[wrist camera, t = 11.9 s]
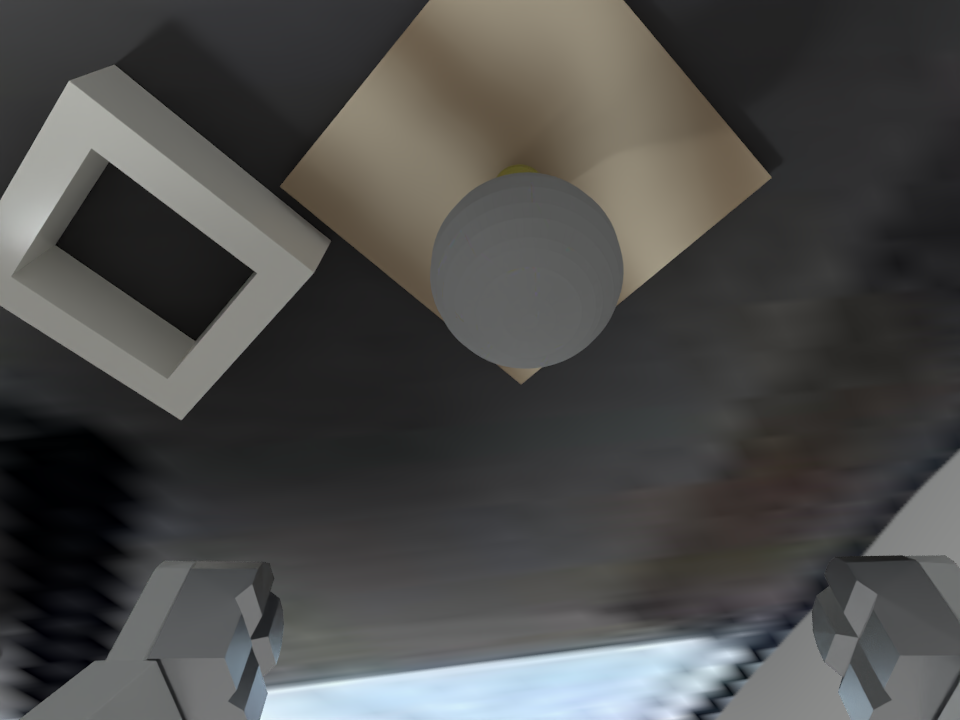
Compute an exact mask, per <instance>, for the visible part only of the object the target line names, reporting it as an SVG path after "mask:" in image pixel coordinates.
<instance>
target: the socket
mask: <svg viewBox="0 0 960 720" xmlns="http://www.w3.org/2000/svg"><path fill="white" fill-rule="evenodd" d="M109 162H110V163H112V164H113V165H114V166H116V167H117V168H118V169H120V170H121V171H122V172H124V173H125V174H126V175H128V176H129V177H130V178H132V179H133V180H134V181H135V182H137V183H138V184H139V185H141V186H142V187H143V188H145V189H146V190H147V191H149V192H150V193H151V194H153V195H154V196H155V197H157V198H158V199H159V200H161V201H162V202H163V203H165V204H166V205H167V206H169V207H170V208H171V209H173V210H174V211H175V212H177V213H178V214H179V215H181V216H182V217H183V218H185V219H186V220H187V221H188V222H190V223H191V224H192V225H194V226H195V227H196V228H198V229H199V230H200V231H202V232H203V233H204V234H206V235H207V236H208V237H210V238H211V239H212V240H214V241H215V242H216V243H218V244H219V245H220V246H222V247H223V248H224V249H226V250H227V251H228V252H230V253H231V254H232V255H234V256H235V257H236V258H237V259H239V260H240V261H241V262H243V263H244V264H245V265H247V266H248V267H249V268H251V269H252V270H253V271H254V273H253V274H252V275H251V276H250V277H249V278H248V280H247V281H246V282H245V283H244V284H243V286H242V287H241V288H240V289H239V290H238V292H237V293H236V294H235V295H234V296H233V297H232V299H231V300H230V301H229V302H228V303H227V305H226V306H225V307H224V308H223V309H222V310H221V312H220V313H219V314H218V315H217V316H216V318H215V319H214V320H213V321H212V322H211V323H210V325H209V326H208V327H207V328H206V329H205V331H204V332H203V333H202V334H201V335H200V337H199V338H198V339H197V340H196V341H194V340H193V339H191V338H190V337H188V336H187V335H186V334H184V333H183V332H181V331H180V330H178V329H177V328H175V327H174V326H172V325H171V324H169V323H168V322H167V321H165V320H164V319H162V318H161V317H159V316H158V315H156V314H155V313H153V312H152V311H151V310H149V309H148V308H146V307H145V306H143V305H142V304H140V303H139V302H137V301H136V300H135V299H133V298H132V297H130V296H129V295H127V294H126V293H124V292H123V291H121V290H120V289H119V288H117V287H116V286H114V285H113V284H111V283H110V282H108V281H107V280H105V279H104V278H102V277H101V276H100V275H98V274H97V273H95V272H94V271H92V270H91V269H89V268H88V267H86V266H85V265H84V264H82V263H81V262H79V261H78V260H76V259H75V258H73V257H72V256H70V255H69V254H68V253H66V252H65V251H63V250H62V249H60V248H59V247H57V246H56V243H57V242H58V240H59V238H60V237H61V235H62V234H63V232H64V231H65V229H66V228H67V226H68V225H69V223H70V221H71V220H72V218H73V217H74V215H75V214H76V212H77V211H78V209H79V208H80V206H81V205H82V203H83V201H84V200H85V198H86V197H87V195H88V194H89V192H90V191H91V189H92V188H93V186H94V184H95V183H96V181H97V180H98V178H99V177H100V175H101V174H102V172H103V171H104V169H105V167H106V166H107V164H108V163H109ZM330 242H331V240H330V239H328V238H327V237H326V236H325V235H323V234H322V233H321V232H320V231H318V230H317V229H316V228H315V227H314V226H312V225H311V224H310V223H309V222H307V221H306V220H305V219H304V218H302V217H301V216H300V215H299V214H298V213H296V212H295V211H294V210H293V209H291V208H290V207H289V206H288V205H286V204H285V203H284V202H283V201H282V200H280V199H279V198H278V197H277V196H275V195H274V194H273V193H272V192H270V191H269V190H268V189H267V188H266V187H264V186H263V185H262V184H261V183H259V182H258V181H257V180H256V179H254V178H253V177H252V176H251V175H250V174H248V173H247V172H246V171H245V170H243V169H242V168H241V167H240V166H238V165H237V164H236V163H235V162H234V161H232V160H231V159H230V158H229V157H227V156H226V155H225V154H224V153H222V152H221V151H220V150H219V149H218V148H216V147H215V146H214V145H213V144H211V143H210V142H209V141H208V140H206V139H205V138H204V137H203V136H202V135H200V134H199V133H198V132H197V131H195V130H194V129H193V128H192V127H190V126H189V125H188V124H187V123H186V122H184V121H183V120H182V119H181V118H179V117H178V116H177V115H176V114H174V113H173V112H172V111H171V110H170V109H168V108H167V107H166V106H165V105H163V104H162V103H161V102H160V101H158V100H157V99H156V98H155V97H154V96H152V95H151V94H150V93H149V92H147V91H146V90H145V89H144V88H142V87H141V86H140V85H139V84H138V83H136V82H135V81H134V80H133V79H131V78H130V77H129V76H128V75H126V74H125V73H124V72H123V71H122V70H120V69H119V68H118V67H117V66H115V65H112V66H109V67H106V68H103V69H101V70H98V71H95V72H92V73H89V74H87V75H84V76H81V77H78V78H75V79H72V80H70V81H69V82H68V83H67V85H66V87H65V89H64V90H63V92H62V94H61V96H60V97H59V99H58V101H57V103H56V104H55V106H54V108H53V109H52V111H51V113H50V115H49V116H48V118H47V120H46V122H45V123H44V125H43V127H42V129H41V130H40V132H39V134H38V136H37V137H36V139H35V141H34V142H33V144H32V146H31V148H30V149H29V151H28V153H27V155H26V156H25V158H24V160H23V162H22V163H21V165H20V167H19V169H18V170H17V172H16V174H15V175H14V177H13V179H12V181H11V182H10V184H9V186H8V188H7V189H6V191H5V193H4V195H3V196H2V198H1V200H0V306H2V307H3V308H5V309H6V310H8V311H10V312H11V313H13V314H14V315H16V316H17V317H19V318H21V319H22V320H24V321H25V322H27V323H28V324H30V325H32V326H33V327H35V328H36V329H38V330H39V331H41V332H43V333H44V334H46V335H47V336H49V337H51V338H52V339H54V340H55V341H57V342H58V343H60V344H62V345H63V346H65V347H66V348H68V349H69V350H71V351H73V352H74V353H76V354H77V355H79V356H80V357H82V358H84V359H85V360H87V361H88V362H90V363H92V364H93V365H95V366H96V367H98V368H99V369H101V370H103V371H104V372H106V373H107V374H109V375H110V376H112V377H114V378H115V379H117V380H118V381H120V382H122V383H123V384H125V385H126V386H128V387H129V388H131V389H133V390H134V391H136V392H137V393H139V394H140V395H142V396H144V397H145V398H147V399H148V400H150V401H151V402H153V403H155V404H156V405H158V406H159V407H161V408H163V409H164V410H166V411H167V412H169V413H170V414H172V415H174V416H175V417H177V418H178V419H180V420H182V419H183V418H184V417H185V416H186V415H187V413H188V412H189V411H190V410H191V409H192V408H193V407H194V406H195V405H196V403H197V402H198V401H199V400H200V399H201V398H202V397H203V396H204V395H205V393H206V392H207V391H208V390H209V389H210V388H211V387H212V386H213V385H214V383H215V382H216V381H217V380H218V379H219V378H220V377H221V376H222V375H223V373H224V372H225V371H226V370H227V369H228V368H229V367H230V366H231V365H232V363H233V362H234V361H235V360H236V359H237V358H238V357H239V356H240V355H241V353H242V352H243V351H244V350H245V349H246V348H247V347H248V346H249V345H250V343H251V342H252V341H253V340H254V339H255V338H256V337H257V336H258V335H259V333H260V332H261V331H262V330H263V329H264V328H265V327H266V326H267V325H268V323H269V322H270V321H271V320H272V319H273V318H274V317H275V316H276V315H277V313H278V312H279V311H280V310H281V309H282V308H283V307H284V306H285V305H286V303H287V302H288V301H289V300H290V299H291V298H292V297H293V296H294V295H295V293H296V292H297V291H298V290H299V289H300V288H301V287H302V286H303V285H304V283H305V282H306V281H307V280H308V279H309V278H310V277H311V276H312V275H313V273H314V272H315V270H316V268H317V266H318V265H319V263H320V261H321V259H322V257H323V255H324V254H325V252H326V250H327V248H328V246H329V244H330Z"/></svg>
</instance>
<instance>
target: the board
mask: <svg viewBox="0 0 960 720" xmlns="http://www.w3.org/2000/svg"><path fill="white" fill-rule="evenodd" d="M517 164H521V165H527V166H530V167H532V168H534V169H535V170H537V171H538V172H539V173H541V174H547V175H551V176H555V177H557V178H560V179H563V180H565V181H567V182H569V183H571V184H573V185H574V186H576V187H577V188H579V189H580V190H582V191H583V192H584V193H586V194H587V195H588V196H589V197H591V198H592V199H593V200H594V201H595V202H596V203H597V204H598V205H599V206H600V207H601V208H602V210H603V211H604V212H605V213H606V215H607V216H608V218H609V219H610V221H611V223H612V225H613V227H614V230H615V232H616V235H617V239H618V242H619V246H620V249H621V253H622V258H623V267H624V275H623V284H622V289H621V293H620V296H619V299H618V302H617V305H618V304H619V303H620V302H622V301H623V300H624V299H625V298H627V297H628V296H629V295H630V294H631V293H633V292H634V291H635V290H636V289H637V288H639V287H640V286H641V285H642V284H644V283H645V282H646V281H647V280H648V279H650V278H651V277H652V276H653V275H654V274H656V273H657V272H658V271H659V270H660V269H662V268H663V267H664V266H665V265H667V264H668V263H669V262H670V261H671V260H673V259H674V258H675V257H676V256H677V255H679V254H680V253H681V252H682V251H684V250H685V249H686V248H687V247H688V246H690V245H691V244H692V243H693V242H694V241H696V240H697V239H698V238H699V237H700V236H702V235H703V234H704V233H705V232H707V231H708V230H709V229H710V228H711V227H713V226H714V225H715V224H716V223H717V222H719V221H720V220H721V219H722V218H723V217H725V216H726V215H727V214H728V213H730V212H731V211H732V210H733V209H734V208H736V207H737V206H738V205H739V204H740V203H742V202H743V201H744V200H745V199H747V198H748V197H749V196H750V195H751V194H753V193H754V192H755V191H756V190H757V189H759V188H760V187H761V186H762V185H763V184H765V183H766V182H767V181H768V180H770V179H771V178H772V177H771V176H770V175H769V174H768V172H767V171H766V170H765V169H764V168H763V166H762V165H761V164H760V163H759V162H758V160H757V159H756V158H755V157H754V156H753V154H752V153H751V152H750V151H749V150H748V148H747V147H746V146H745V145H744V144H743V143H742V141H741V140H740V139H739V138H738V137H737V135H736V134H735V133H734V132H733V131H732V129H731V128H730V127H729V126H728V125H727V123H726V122H725V121H724V120H723V119H722V117H721V116H720V115H719V114H718V113H717V111H716V110H715V109H714V108H713V107H712V105H711V104H710V103H709V102H708V101H707V99H706V98H705V97H704V96H703V95H702V93H701V92H700V91H699V90H698V89H697V87H696V86H695V85H694V84H693V83H692V82H691V80H690V79H689V78H688V77H687V76H686V74H685V73H684V72H683V71H682V70H681V68H680V67H679V66H678V65H677V64H676V62H675V61H674V60H673V59H672V58H671V56H670V55H669V54H668V53H667V52H666V50H665V49H664V48H663V47H662V46H661V44H660V43H659V42H658V41H657V40H656V38H655V37H654V36H653V35H652V34H651V32H650V31H649V30H648V29H647V28H646V27H645V25H644V24H643V23H642V22H641V21H640V19H639V18H638V17H637V16H636V15H635V13H634V12H633V11H632V10H631V9H630V7H629V6H628V5H627V4H626V3H625V1H624V0H429V2H428V3H427V4H426V5H425V7H424V8H423V9H422V10H421V12H420V13H419V14H418V15H417V17H416V18H415V19H414V20H413V22H412V23H411V24H410V25H409V27H408V28H407V29H406V30H405V31H404V33H403V34H402V35H401V36H400V38H399V39H398V40H397V41H396V43H395V44H394V45H393V46H392V48H391V49H390V50H389V51H388V53H387V54H386V55H385V56H384V58H383V59H382V60H381V61H380V63H379V64H378V65H377V66H376V68H375V69H374V70H373V71H372V72H371V74H370V75H369V76H368V77H367V79H366V80H365V81H364V82H363V84H362V85H361V86H360V87H359V89H358V90H357V91H356V92H355V94H354V95H353V96H352V97H351V99H350V100H349V101H348V102H347V104H346V105H345V106H344V107H343V108H342V110H341V111H340V112H339V113H338V115H337V116H336V117H335V118H334V120H333V121H332V122H331V123H330V125H329V126H328V127H327V128H326V130H325V131H324V132H323V133H322V135H321V136H320V137H319V138H318V140H317V141H316V142H315V143H314V145H313V146H312V147H311V148H310V149H309V151H308V152H307V153H306V154H305V156H304V157H303V158H302V159H301V161H300V162H299V163H298V164H297V166H296V167H295V168H294V169H293V171H292V172H291V173H290V174H289V176H288V177H287V178H286V179H285V181H284V182H283V183H282V184H281V186H280V187H281V188H282V189H283V190H285V191H286V192H287V193H288V194H290V195H291V196H292V197H293V198H294V199H296V200H297V201H298V202H299V203H301V204H302V205H303V206H304V207H305V208H307V209H308V210H309V211H310V212H311V213H313V214H314V215H315V216H316V217H318V218H319V219H320V220H321V221H322V222H324V223H325V224H326V225H327V226H329V227H330V228H331V229H332V230H333V231H335V232H336V233H337V234H338V235H340V236H341V237H342V238H343V239H344V240H346V241H347V242H348V243H349V244H350V245H352V246H353V247H354V248H355V249H357V250H358V251H359V252H360V253H361V254H363V255H364V256H365V257H366V258H368V259H369V260H370V261H371V262H372V263H374V264H375V265H376V266H377V267H379V268H380V269H381V270H382V271H383V272H385V273H386V274H387V275H388V276H389V277H391V278H392V279H393V280H394V281H396V282H397V283H398V284H399V285H400V286H402V287H403V288H404V289H405V290H407V291H408V292H409V293H410V294H411V295H413V296H414V297H415V298H416V299H418V300H419V301H420V302H421V303H422V304H424V305H425V306H426V307H427V308H429V309H430V310H431V311H432V312H433V313H435V314H436V315H437V316H438V317H439V318H441V319H442V320H443V318H442V317H441V315H440V313H439V311H438V309H437V307H436V304H435V302H434V298H433V295H432V290H431V283H430V268H431V259H432V251H433V246H434V242H435V239H436V236H437V233H438V231H439V229H440V227H441V225H442V223H443V222H444V220H445V218H446V217H447V216H448V214H449V213H450V212H451V210H452V209H453V208H454V207H455V206H456V205H457V204H458V203H459V202H460V201H461V200H462V198H463V197H465V196H466V195H467V194H468V193H469V192H470V191H472V190H473V189H475V188H476V187H478V186H479V185H481V184H483V183H485V182H487V181H489V180H491V179H494V178H496V177H497V176H498V174H499V173H500V172H501V171H502V170H503V169H505V168H507V167H509V166H511V165H517ZM617 305H616V306H617ZM443 321H444V320H443ZM497 365H498V364H497ZM498 366H499V367H500V368H502V369H503V370H504V371H505V372H507V373H508V374H509V375H510V376H511V377H513V378H514V379H515V380H516V381H518V382H519V383H520V384H522V383H524V382H525V381H526V380H527V379H528V378H530V377H531V376H532V375H533V374H534V373H536V372H537V371H538V370H539V369H540V368H530V369H522V368H511V367H506V366H501V365H498ZM541 368H542V367H541Z"/></svg>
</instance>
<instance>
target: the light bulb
mask: <svg viewBox="0 0 960 720" xmlns="http://www.w3.org/2000/svg"><path fill="white" fill-rule="evenodd" d="M623 275H624V267H623V258H622V253H621V249H620V246H619V242H618V239H617V235H616V232H615V230H614V227H613V225H612V223H611V221H610V219H609V218H608V216H607V215H606V213H605V212H604V211H603V210H602V208H601V207H600V206H599V205H598V204H597V203H596V202H595V201H594V200H593V199H592V198H591V197H589V196H588V195H587V194H586V193H584V192H583V191H582V190H580V189H579V188H577V187H576V186H574V185H573V184H571V183H569V182H567V181H565V180H563V179H560V178H557V177H555V176H551V175H547V174H541V173H539V172H538V171H537V170H535V169H534V168H532V167H530V166H527V165H521V164H517V165H511V166H509V167H507V168H505V169H503V170H502V171H501V172H500V173H499V174H498V176H497V177H496V178H494V179H491V180H489V181H487V182H485V183H483V184H481V185H479V186H478V187H476V188H475V189H473V190H472V191H470V192H469V193H468V194H467V195H466V196H465V197H463V198H462V200H461V201H460V202H459V203H458V204H457V205H456V206H455V207H454V208H453V209H452V210H451V212H450V213H449V214H448V216H447V217H446V218H445V220H444V222H443V223H442V225H441V227H440V229H439V231H438V233H437V236H436V239H435V242H434V246H433V251H432V259H431V268H430V283H431V290H432V295H433V298H434V302H435V304H436V307H437V309H438V311H439V313H440V315H441V317H442V318H443V320H444V322H445V324H446V325H447V327H448V328H449V330H450V331H451V333H452V334H453V335H454V336H455V337H456V338H457V339H458V340H459V341H460V342H461V343H462V344H463V345H464V346H466V347H467V348H468V349H469V350H471V351H472V352H473V353H475V354H476V355H478V356H480V357H481V358H483V359H485V360H487V361H490V362H492V363H495V364H498V365H501V366H506V367H511V368H522V369H530V368H541V367H546V366H550V365H554V364H557V363H560V362H562V361H565V360H567V359H569V358H571V357H573V356H574V355H576V354H578V353H579V352H581V351H582V350H583V349H585V348H586V347H587V346H588V345H589V344H590V343H591V342H592V341H593V340H594V339H595V338H596V337H597V336H598V335H599V334H600V333H601V332H602V330H603V329H604V328H605V326H606V325H607V323H608V322H609V320H610V318H611V316H612V314H613V312H614V310H615V307H616V305H617V302H618V299H619V296H620V293H621V289H622V284H623Z"/></svg>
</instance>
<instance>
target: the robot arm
mask: <svg viewBox="0 0 960 720" xmlns="http://www.w3.org/2000/svg"><path fill="white" fill-rule="evenodd" d="M824 576H825V577H826V579H827V581H828V583H829V585H830V586H829V587H828V588H827V589H825V590H824V591H822V592H821V593H820V594H818V595H817V596H816V600H815V603H814V607H813V610H812V622H813V633H814V636H815V640H816V644H817V647H818V649H819V651H820V654H821V656H822V658H823V660H824V662H825V663H826V664H827V665H828V666H829V667H831V668H832V669H833V670H835V672H837V673H838V674H839V675H841V676H842V680H841V684H840V687H839V691H838V693H839V695H840V697H841V699H842V701H843V704H844V706H845V708H846V710H847V712H848V714H849V716H850V718H851V720H960V568H959V567H958V566H957V564H956V563H955V562H954V561H952V560H951V559H950V558H948V557H947V556H906V557H905V556H851V557H835V558H834V559H832V560H831V561H830V562H829V563H828V566H827V568H826V571H825V574H824ZM273 581H274V576H273V573H272V570H271V567H270V563H266V562H239V561H163V562H162V563H161V564H160V565H159V566H158V567H157V568H156V569H155V570H154V571H153V573H152V575H151V577H150V579H149V581H148V583H147V584H146V586H145V588H144V590H143V592H142V594H141V596H140V597H139V599H138V601H137V603H136V605H135V607H134V609H133V610H132V612H131V614H130V616H129V618H128V620H127V622H126V623H125V625H124V627H123V629H122V631H121V633H120V635H119V636H118V638H117V640H116V642H115V644H114V646H113V648H112V649H111V651H110V653H109V655H108V657H107V659H106V661H94V662H93V663H91V664H90V665H89V666H88V667H86V668H85V669H84V670H82V671H81V672H80V673H79V674H77V675H76V676H75V677H73V678H72V679H71V680H70V681H68V682H67V683H66V684H64V685H63V686H62V687H61V688H59V689H58V690H57V691H55V692H54V693H53V694H52V695H50V696H49V697H48V698H46V699H45V700H44V701H43V702H41V703H40V704H39V705H37V706H36V707H35V708H34V709H32V710H31V711H30V712H28V713H27V714H26V715H25V716H23V717H22V718H21V719H19V720H260V717H261V714H262V710H263V707H264V704H265V701H266V697H267V694H268V693H267V690H266V686H265V683H264V680H263V677H264V676H265V675H266V674H267V673H268V672H269V671H270V670H271V669H272V668H273V667H274V666H275V665H276V663H277V660H278V656H279V653H280V649H281V645H282V636H283V628H284V621H283V609H282V605H281V601H280V599H279V598H278V597H277V596H276V595H274V594H273V593H272V592H270V590H271V587H272V584H273Z"/></svg>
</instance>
